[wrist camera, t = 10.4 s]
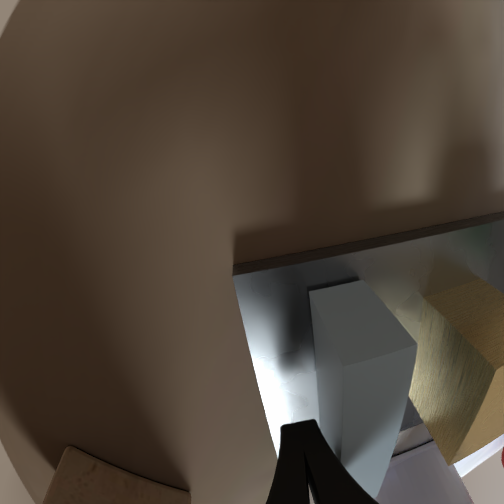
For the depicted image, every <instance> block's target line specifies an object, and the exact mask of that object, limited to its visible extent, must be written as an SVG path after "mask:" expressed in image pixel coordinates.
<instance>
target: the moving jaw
mask: <svg viewBox="0 0 504 504" xmlns="http://www.w3.org/2000/svg"><path fill="white" fill-rule="evenodd" d="M309 298H310V306H311V316H312V325H313V335H314V346H315V357H316V368H317V381H318V394H319V409H320V426H321V432H322V434H323V436H324V438H325V440H326V441H327V443H328V445H329V446H330V448H331V449H332V451H333V452H334V454H335V455H336V457H337V458H338V459H339V461H340V462H341V463H342V465H343V466H344V467H345V469H346V470H347V471H348V472H349V473H350V475H351V476H352V477H353V478H354V479H355V480H356V482H357V483H358V484H359V485H360V486H361V487H362V488H363V489H364V490H365V491H366V492H367V493H368V494H369V495H370V496H371V497H372V498H375V497H377V495H378V493H379V490H380V488H381V485H382V482H383V480H384V477H385V474H386V472H387V469H388V466H389V463H390V460H391V457H392V454H393V451H394V448H395V444H396V441H397V438H398V434H399V431H400V427H401V423H402V420H403V416H404V412H405V408H406V404H407V399H408V395H409V390H410V386H411V381H412V376H413V371H414V365H415V359H416V353H417V347H418V344H417V342H416V341H415V340H414V339H413V337H412V336H411V335H410V334H409V333H408V331H407V330H406V329H405V328H404V327H403V325H402V324H401V323H400V322H399V321H398V319H397V318H396V317H395V316H394V315H393V313H392V312H391V311H390V310H389V309H388V308H387V306H386V305H385V304H384V303H383V302H382V301H381V299H380V298H379V297H378V296H377V295H376V294H375V293H374V291H373V290H372V289H371V288H370V287H369V286H368V285H367V284H366V282H365V281H364V280H360V281H355V282H351V283H346V284H342V285H337V286H333V287H328V288H323V289H319V290H314V291H309Z"/></svg>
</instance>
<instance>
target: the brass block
mask: <svg viewBox="0 0 504 504" xmlns="http://www.w3.org/2000/svg"><path fill="white" fill-rule="evenodd" d="M408 396H409V398H410V400H411V401H412V403H413V405H414V406H415V408H416V410H417V411H418V413H419V415H420V417H421V418H422V420H423V422H424V423H425V425H426V427H427V429H428V430H429V432H430V434H431V436H432V438H433V439H434V441H435V443H436V445H437V447H438V448H439V450H440V452H441V454H442V456H443V457H444V459H445V461H446V463H447V465H448V466H450V465H452V464H454V463H456V462H458V461H460V460H461V459H463V458H465V457H467V456H469V455H470V454H472V453H474V452H475V451H477V450H479V449H480V448H482V447H484V446H485V445H487V444H488V443H490V442H492V441H493V440H495V439H496V438H498V437H499V436H501V435H502V434H504V294H503V293H502V292H500V291H499V290H497V289H496V288H495V287H493V286H492V285H490V284H489V283H487V282H486V281H484V280H483V279H481V278H480V279H477V280H474V281H472V282H469V283H466V284H463V285H460V286H457V287H454V288H451V289H448V290H445V291H442V292H439V293H436V294H433V295H430V296H427V297H423V304H422V314H421V323H420V332H419V339H418V347H417V353H416V359H415V365H414V371H413V376H412V381H411V386H410V391H409V395H408Z"/></svg>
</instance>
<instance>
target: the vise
mask: <svg viewBox="0 0 504 504" xmlns="http://www.w3.org/2000/svg"><path fill="white" fill-rule="evenodd" d="M232 276H233V281H234V285H235V289H236V294H237V298H238V302H239V307H240V311H241V315H242V319H243V323H244V328H245V332H246V336H247V340H248V344H249V348H250V352H251V356H252V360H253V364H254V368H255V372H256V376H257V380H258V384H259V388H260V392H261V396H262V400H263V404H264V408H265V412H266V415H267V419H268V423H269V427H270V431H271V434H272V438H273V442H274V446H275V449H276V453H277V457H278V455H279V448H280V427H281V426H282V425H284V424H289V423H294V422H299V421H304V420H309V419H315V420H316V421H317V424H318V426H319V428H320V430H321V426H320V409H319V394H318V381H317V368H316V357H315V346H314V335H313V325H312V316H311V306H310V298H309V291H314V290H319V289H323V288H328V287H333V286H337V285H342V284H346V283H351V282H355V281H360V280H364V281H365V282H366V284H367V285H368V286H369V287H370V288H371V289H372V290H373V291H374V293H375V294H376V295H377V296H378V297H379V298H380V299H381V301H382V302H383V303H384V304H385V305H386V306H387V308H388V309H389V310H390V311H391V312H392V313H393V315H394V316H395V317H396V318H397V319H398V321H399V322H400V323H401V324H402V325H403V327H404V328H405V329H406V330H407V331H408V333H409V334H410V335H411V336H412V337H413V339H414V340H415V341H416V342H417V344H418V339H419V332H420V323H421V314H422V304H423V297H427V296H430V295H433V294H436V293H439V292H442V291H445V290H448V289H451V288H454V287H457V286H460V285H463V284H466V283H469V282H472V281H474V280H477V279H480V278H481V279H483V280H484V281H486V282H487V283H489V284H490V285H492V286H493V287H495V288H496V289H497V290H499V291H500V292H502V293H503V294H504V212H499V213H494V214H490V215H485V216H480V217H475V218H471V219H466V220H461V221H456V222H451V223H446V224H442V225H437V226H432V227H427V228H422V229H417V230H412V231H407V232H402V233H397V234H392V235H387V236H382V237H377V238H372V239H367V240H362V241H357V242H352V243H347V244H342V245H337V246H331V247H326V248H321V249H316V250H311V251H306V252H300V253H295V254H290V255H285V256H280V257H274V258H269V259H264V260H258V261H253V262H248V263H242V264H237V265H233V275H232ZM409 391H410V390H409ZM421 423H423V420H422V418H421V417H420V415H419V413H418V411H417V410H416V408H415V406H414V405H413V403H412V401H411V400H410V398H409V396H408V399H407V404H406V408H405V412H404V416H403V420H402V423H401V427H400V431H403V430H405V429H408V428H411V427H413V426H416V425H418V424H421ZM400 431H399V432H400Z"/></svg>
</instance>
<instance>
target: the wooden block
mask: <svg viewBox="0 0 504 504" xmlns="http://www.w3.org/2000/svg"><path fill="white" fill-rule="evenodd" d="M43 504H191V494H190V493H188V492H186V491H182V490H179V489H175V488H172V487H169V486H166V485H163V484H159V483H156V482H154V481H151V480H148V479H145V478H142V477H140V476H137V475H134V474H132V473H129V472H127V471H124V470H122V469H119V468H117V467H115V466H112V465H110V464H108V463H105V462H103V461H101V460H99V459H97V458H95V457H93V456H90V455H88V454H86V453H84V452H82V451H80V450H79V449H77V448H75V447H72V446H68V447H67V448H65V450H64V453H63V455H62V457H61V459H60V462H59V464H58V466H57V469H56V471H55V474H54V476H53V478H52V481H51V483H50V486H49V488H48V491H47V494H46V496H45V499H44V501H43Z"/></svg>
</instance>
